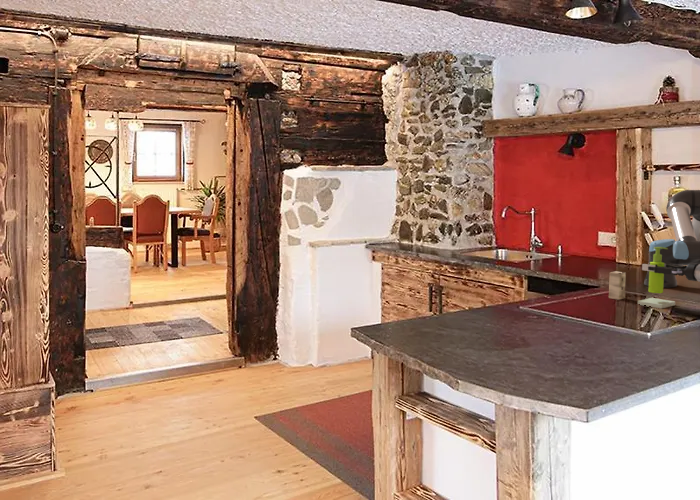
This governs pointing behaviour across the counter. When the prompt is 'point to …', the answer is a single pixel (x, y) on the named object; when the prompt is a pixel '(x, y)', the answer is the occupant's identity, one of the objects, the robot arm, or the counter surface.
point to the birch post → (617, 285)
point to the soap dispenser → (656, 278)
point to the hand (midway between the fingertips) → (646, 266)
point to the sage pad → (656, 303)
